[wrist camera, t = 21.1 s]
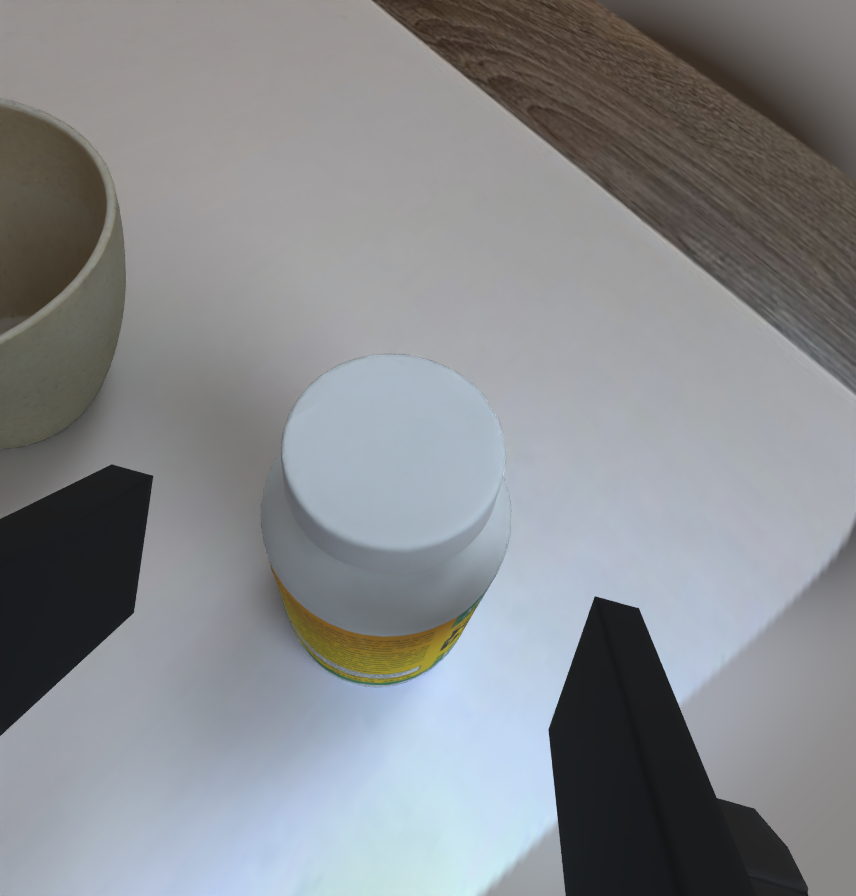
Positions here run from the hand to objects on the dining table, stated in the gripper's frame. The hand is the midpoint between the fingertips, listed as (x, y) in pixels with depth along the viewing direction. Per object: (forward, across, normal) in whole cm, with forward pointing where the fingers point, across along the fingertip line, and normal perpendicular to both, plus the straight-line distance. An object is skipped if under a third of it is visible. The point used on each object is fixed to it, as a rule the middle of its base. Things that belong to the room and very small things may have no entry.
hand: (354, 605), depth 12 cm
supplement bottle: (+8, 0, -4) cm, 9 cm away
